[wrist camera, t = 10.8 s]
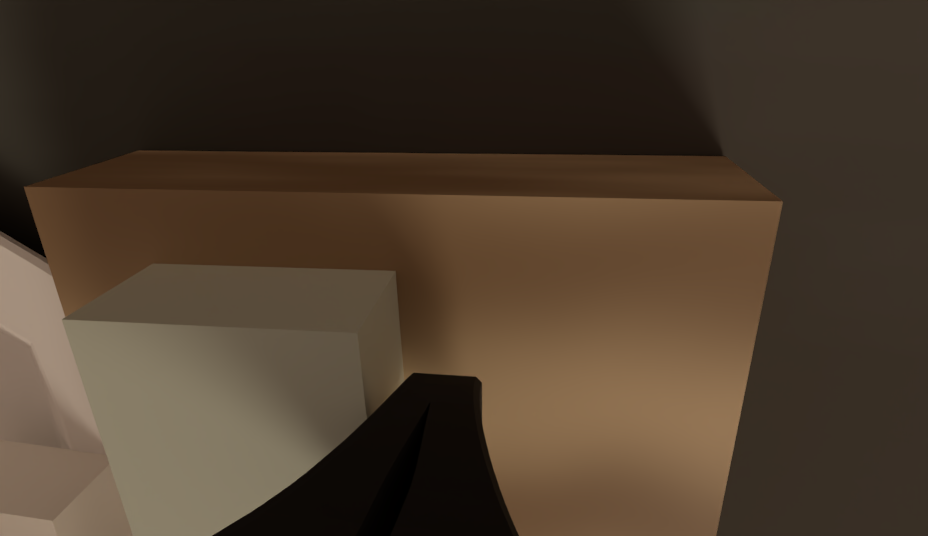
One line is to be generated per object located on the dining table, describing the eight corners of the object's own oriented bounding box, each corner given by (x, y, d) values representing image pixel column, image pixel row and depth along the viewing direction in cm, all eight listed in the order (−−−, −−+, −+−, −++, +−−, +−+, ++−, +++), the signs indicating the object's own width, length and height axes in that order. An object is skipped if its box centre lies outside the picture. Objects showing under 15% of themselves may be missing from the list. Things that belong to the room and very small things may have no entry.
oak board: (648, 646, 19) (668, 772, 16) (243, 598, 21) (188, 703, 18) (725, 156, 13) (782, 201, 10) (138, 150, 15) (23, 186, 11)
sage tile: (411, 477, 13) (383, 570, 11) (202, 461, 14) (136, 544, 12) (395, 270, 11) (357, 333, 9) (152, 263, 12) (61, 319, 10)
